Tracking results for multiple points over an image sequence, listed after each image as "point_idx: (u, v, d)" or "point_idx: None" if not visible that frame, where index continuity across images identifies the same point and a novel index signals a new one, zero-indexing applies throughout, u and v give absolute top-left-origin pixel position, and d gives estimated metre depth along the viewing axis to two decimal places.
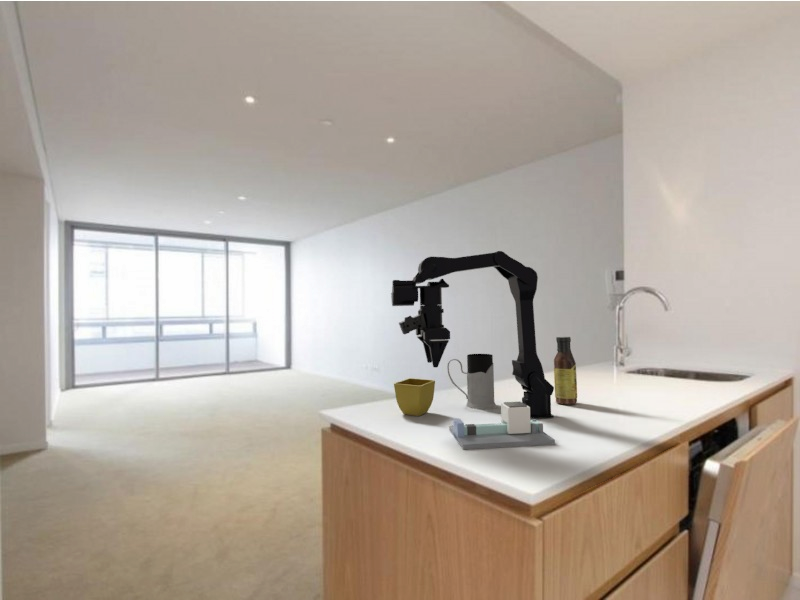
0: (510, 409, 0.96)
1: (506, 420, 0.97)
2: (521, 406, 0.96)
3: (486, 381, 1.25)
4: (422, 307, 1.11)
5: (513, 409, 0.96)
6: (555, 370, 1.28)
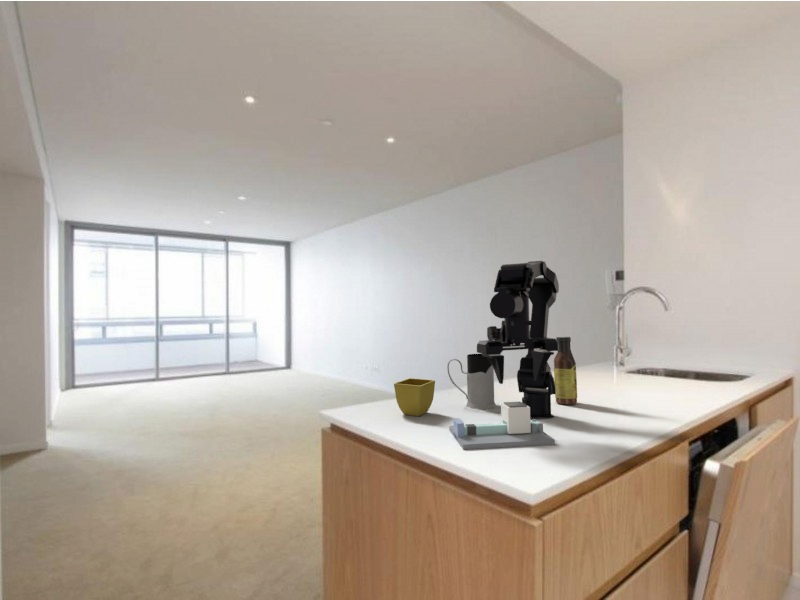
0: (510, 409, 0.96)
1: (506, 420, 0.97)
2: (521, 406, 0.96)
3: (486, 381, 1.25)
4: None
5: (513, 409, 0.96)
6: (555, 370, 1.28)
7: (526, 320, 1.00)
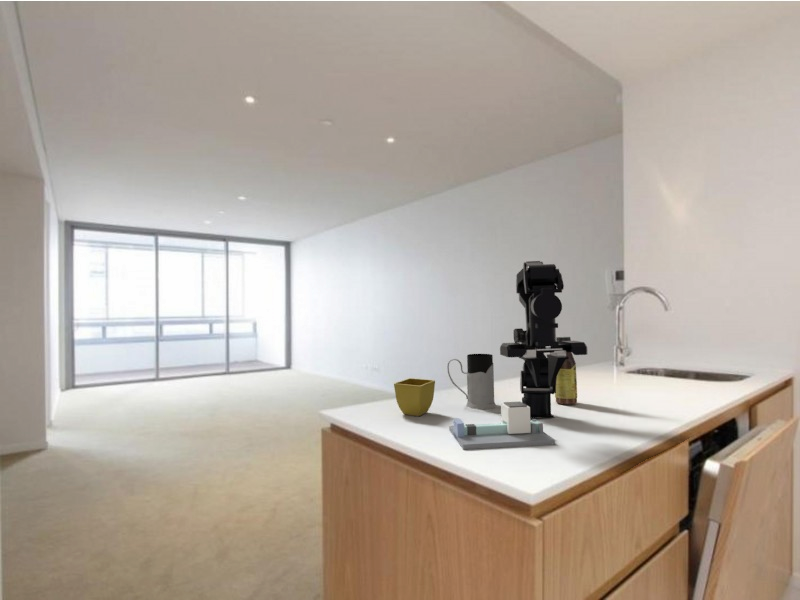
0: (510, 409, 0.96)
1: (506, 420, 0.97)
2: (521, 406, 0.96)
3: (486, 381, 1.25)
4: None
5: (513, 409, 0.96)
6: None
7: (551, 322, 0.97)
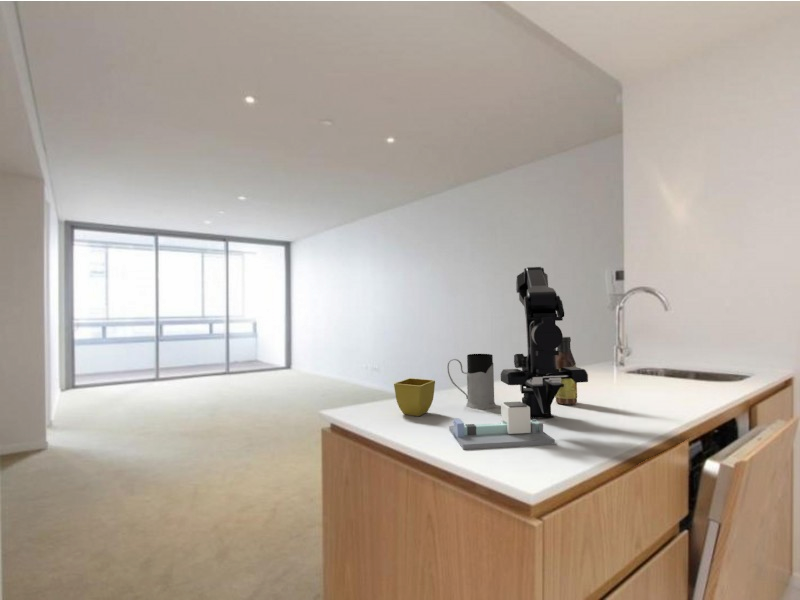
0: (510, 409, 0.96)
1: (506, 420, 0.97)
2: (521, 406, 0.96)
3: (486, 381, 1.25)
4: None
5: (513, 409, 0.96)
6: None
7: (552, 350, 0.97)
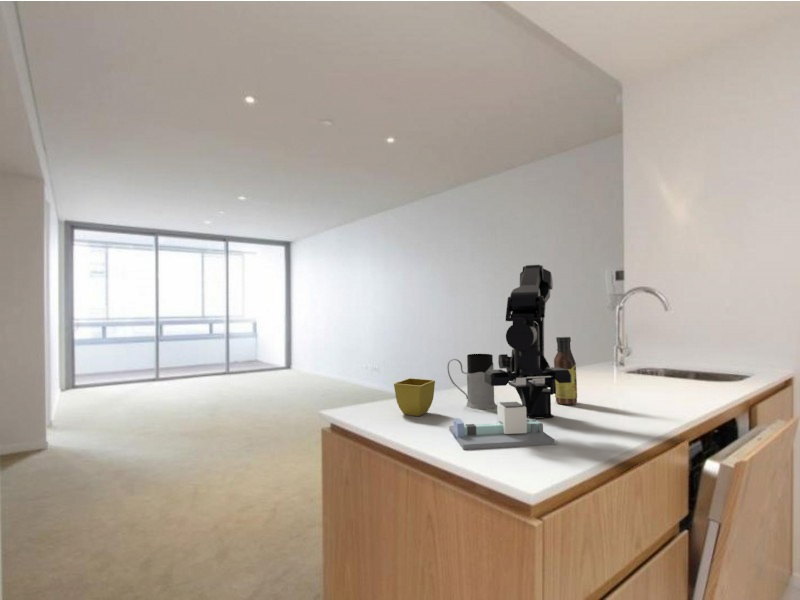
0: (506, 409, 0.96)
1: (502, 420, 0.97)
2: (517, 406, 0.96)
3: None
4: None
5: (509, 409, 0.96)
6: None
7: (535, 350, 0.96)
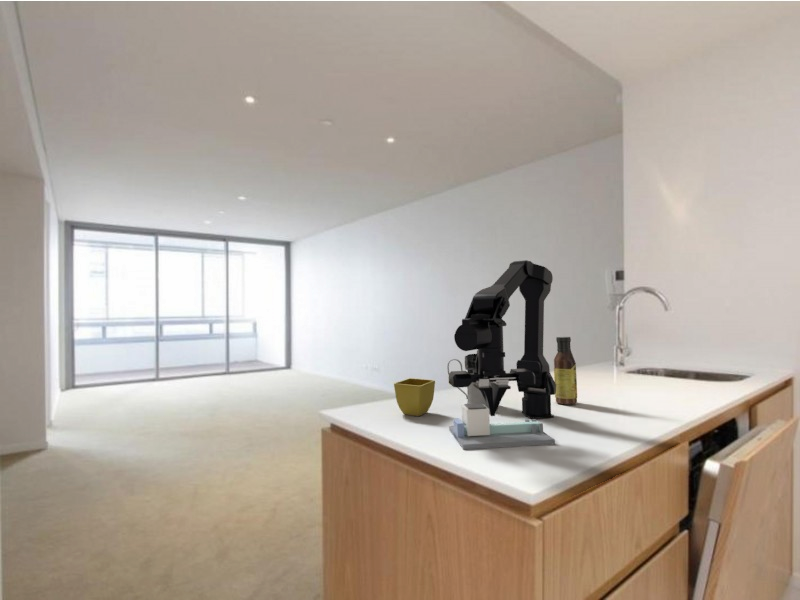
0: (469, 411, 0.95)
1: (465, 422, 0.96)
2: (480, 408, 0.96)
3: None
4: None
5: (472, 411, 0.95)
6: (555, 370, 1.28)
7: (498, 352, 0.95)
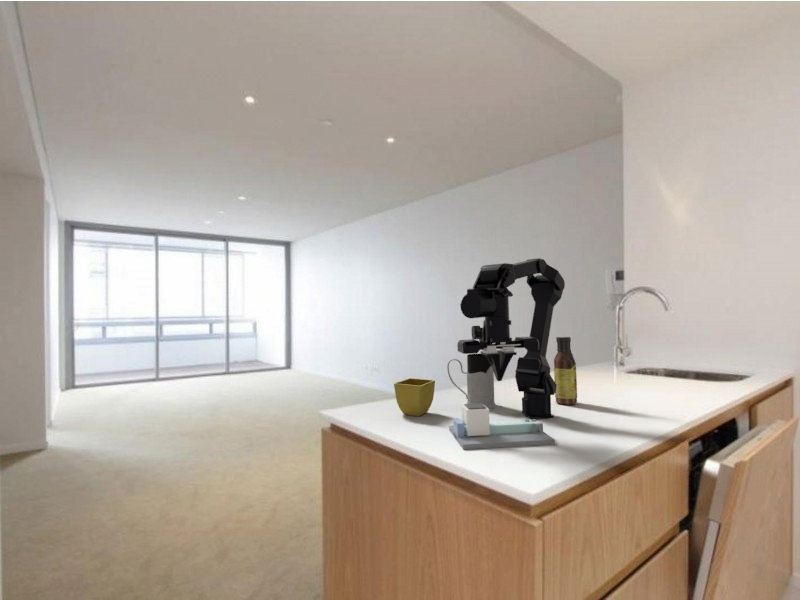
0: (469, 411, 0.95)
1: (465, 422, 0.96)
2: (480, 408, 0.96)
3: (486, 381, 1.25)
4: None
5: (472, 411, 0.95)
6: (555, 370, 1.28)
7: (504, 320, 1.01)
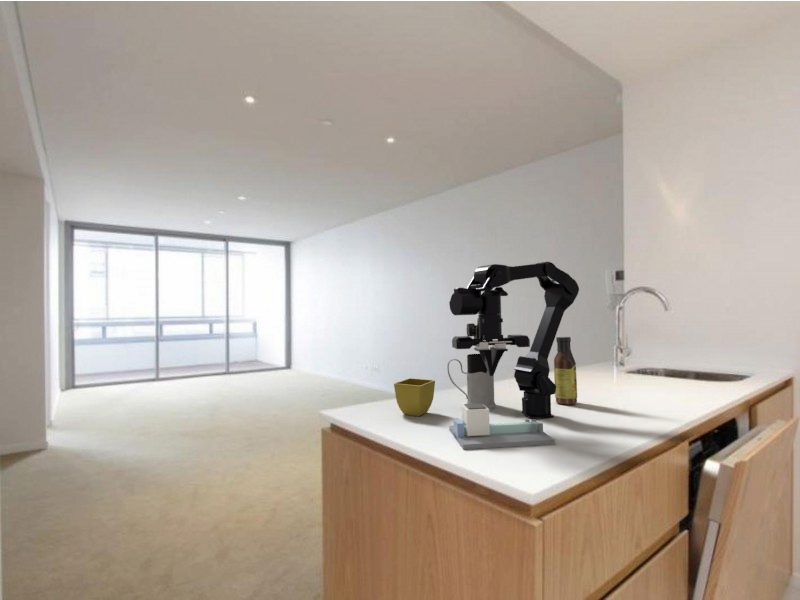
0: (469, 411, 0.95)
1: (465, 422, 0.96)
2: (480, 408, 0.96)
3: (486, 381, 1.25)
4: None
5: (472, 411, 0.95)
6: (555, 370, 1.28)
7: (496, 318, 1.07)
